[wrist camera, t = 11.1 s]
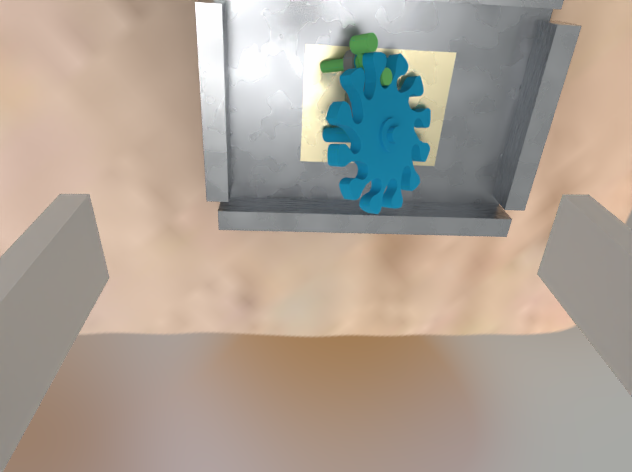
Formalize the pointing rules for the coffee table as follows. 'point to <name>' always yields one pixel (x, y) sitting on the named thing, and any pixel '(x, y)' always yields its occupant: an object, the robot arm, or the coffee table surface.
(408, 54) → the gray metal tray
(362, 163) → the gear
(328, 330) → the coffee table surface
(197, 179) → the coffee table surface
